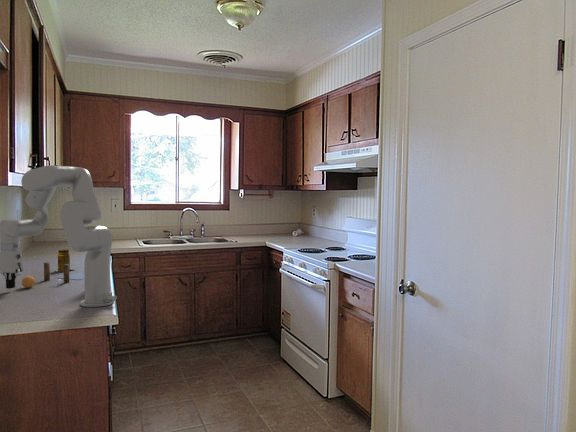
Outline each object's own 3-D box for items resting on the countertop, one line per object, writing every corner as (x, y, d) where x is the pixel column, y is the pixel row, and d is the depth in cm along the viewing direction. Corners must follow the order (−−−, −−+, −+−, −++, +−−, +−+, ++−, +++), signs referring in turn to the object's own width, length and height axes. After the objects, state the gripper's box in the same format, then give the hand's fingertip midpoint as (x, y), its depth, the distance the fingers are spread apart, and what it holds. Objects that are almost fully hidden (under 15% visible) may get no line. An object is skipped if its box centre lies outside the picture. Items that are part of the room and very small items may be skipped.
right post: (70, 282, 220) (70, 264, 219) (66, 283, 217) (66, 265, 217) (66, 281, 221) (66, 263, 220) (62, 282, 218) (62, 264, 218)
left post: (51, 280, 224) (50, 262, 223) (46, 281, 221) (46, 263, 221) (47, 279, 225) (46, 262, 224) (42, 280, 222) (42, 262, 222)
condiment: (54, 271, 249) (54, 250, 248) (67, 269, 257) (67, 248, 256) (63, 272, 246) (63, 251, 245) (76, 270, 254) (76, 249, 253)
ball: (38, 287, 208) (37, 275, 207) (27, 289, 202) (27, 277, 202) (29, 286, 209) (29, 274, 209) (18, 288, 204) (18, 276, 204)
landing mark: (98, 275, 239) (98, 275, 239) (78, 280, 225) (78, 279, 225) (78, 273, 243) (78, 273, 243) (57, 277, 230) (57, 277, 230)
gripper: (30, 247, 198) (30, 287, 199) (5, 245, 202) (6, 284, 203) (14, 249, 190) (15, 291, 191) (-11, 247, 195) (-10, 288, 196)
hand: (10, 287), depth 197 cm, fingers closed
